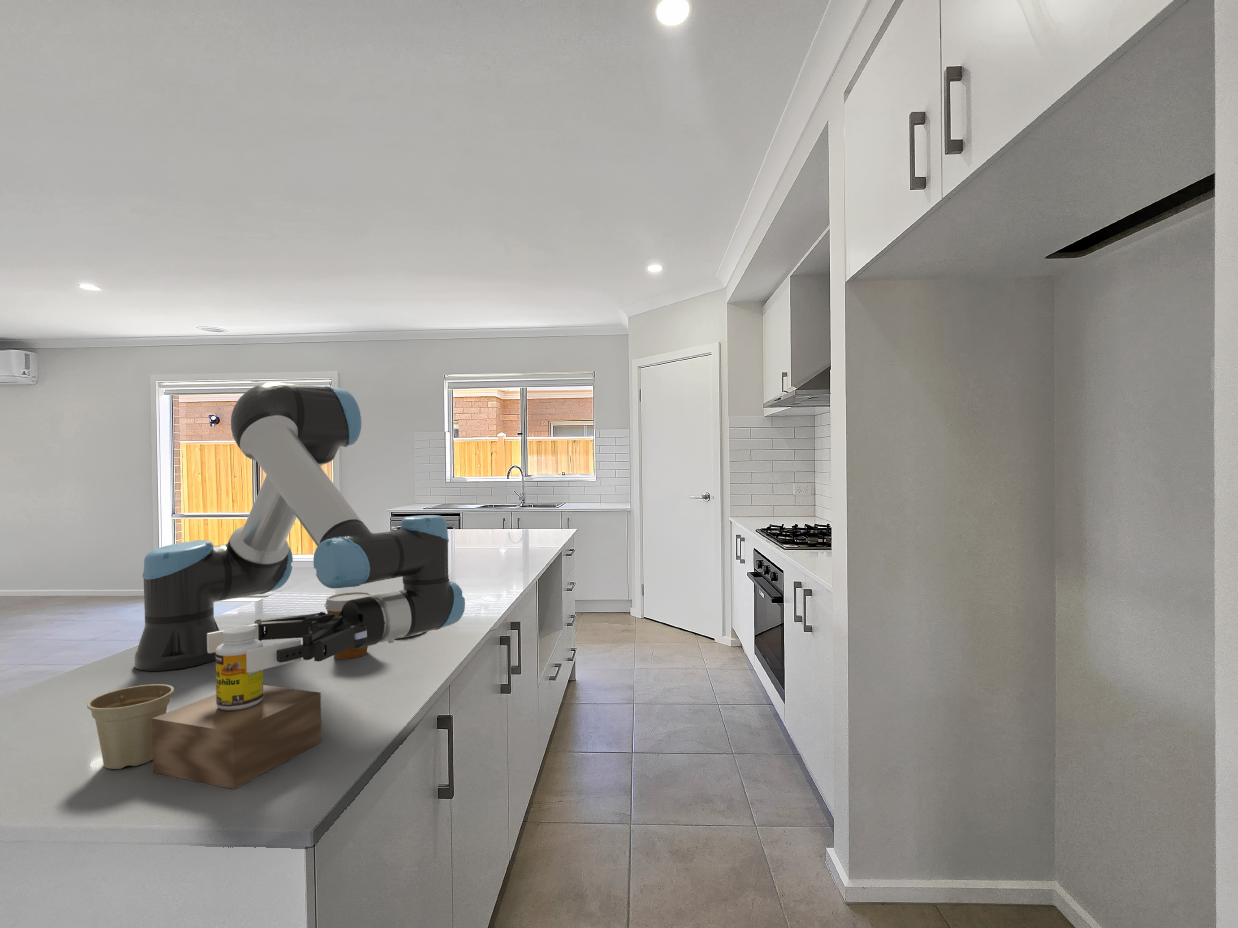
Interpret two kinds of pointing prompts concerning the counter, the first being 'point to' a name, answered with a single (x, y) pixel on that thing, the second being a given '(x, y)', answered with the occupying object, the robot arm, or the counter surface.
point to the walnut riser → (235, 737)
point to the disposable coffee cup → (335, 606)
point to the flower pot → (128, 722)
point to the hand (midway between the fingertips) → (226, 651)
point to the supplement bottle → (237, 670)
